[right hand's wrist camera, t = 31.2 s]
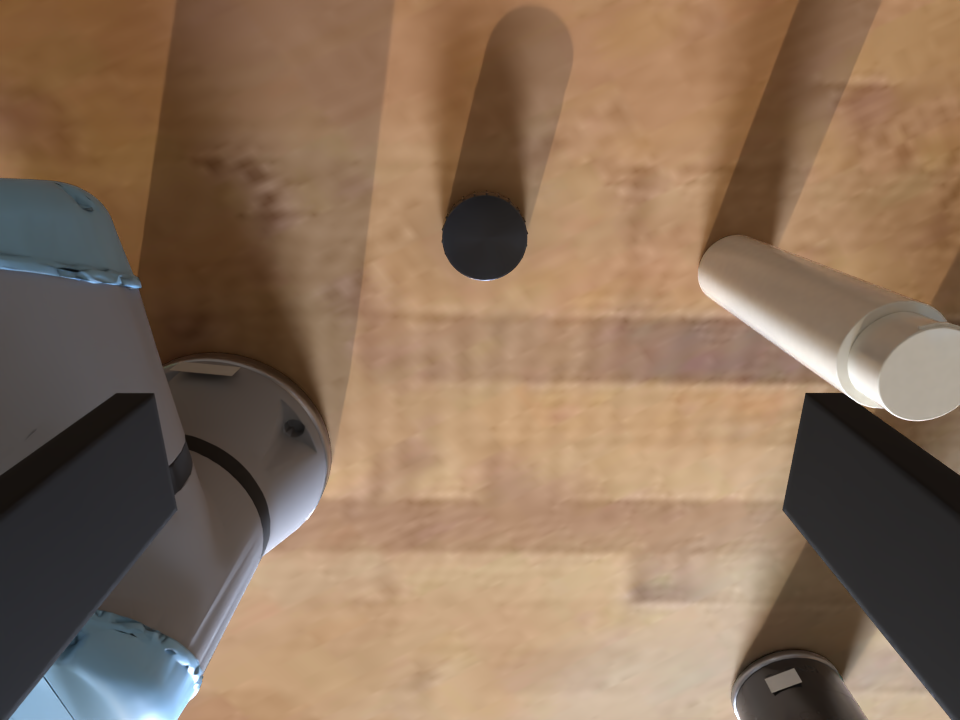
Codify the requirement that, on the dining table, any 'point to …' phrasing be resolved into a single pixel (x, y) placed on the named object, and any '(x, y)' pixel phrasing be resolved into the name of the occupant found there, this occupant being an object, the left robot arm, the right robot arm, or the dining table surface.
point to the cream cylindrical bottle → (840, 326)
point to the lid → (484, 236)
